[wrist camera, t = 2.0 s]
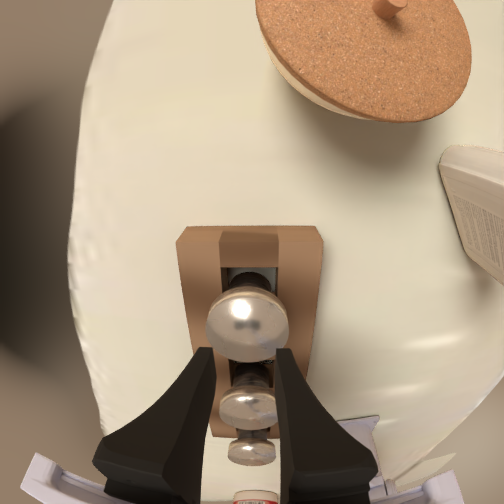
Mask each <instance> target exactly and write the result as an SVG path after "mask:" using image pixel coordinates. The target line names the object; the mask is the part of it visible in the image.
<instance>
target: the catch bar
mask: <svg viewBox="0 0 504 504" xmlns="http://www.w3.org/2000/svg"><path fill="white" fill-rule="evenodd" d="M176 249H177V257H178V265H179V272H180V279H181V286H182V292H183V298H184V305H185V311H186V317H187V322H188V328H189V333H190V339H191V344H192V349H193V354H195V352H196V351H197V349H198V348H199V347H212V346H211V345H210V343H209V341H208V339H207V337H206V332H205V327H206V322H207V318H208V314H209V310H210V307H211V305H212V303H213V302H214V300H215V299H216V298H217V297H218V296H219V295H221V294H222V293H224V292H225V291H227V290H228V278H227V267H276V275H275V292H271V293H272V294H274V295H275V296H276V297H277V298H278V299H279V300H280V301H281V302H282V303H283V305H284V307H285V309H286V312H287V319H288V327H289V336H288V340H287V342H286V344H285V346H284V347H283V348H290V349H291V350H292V353H293V356H294V358H295V361H296V363H297V365H298V367H299V369H300V371H301V373H302V375H303V377H304V379H305V380H306V376H307V370H308V364H309V358H310V351H311V345H312V338H313V331H314V324H315V316H316V308H317V300H318V292H319V283H320V273H321V263H322V253H323V240H322V238H321V236H320V234H319V233H318V231H317V229H316V227H315V226H194V227H186V229H185V230H184V231H183V233H182V234H181V236H180V237H179V238H178V240H177V241H176ZM213 353H214V360H215V367H216V374H217V380H216V390H215V397H214V401H213V406H212V410H211V414H210V419H209V424H210V428H211V432H212V435H213V437H224V438H238V431H239V429H238V428H235V427H232V426H230V425H228V424H226V423H225V422H224V421H223V420H222V419H221V418H220V416H219V409H220V402H221V397H222V395H223V394H224V393H225V392H226V391H228V390H229V389H232V388H233V383H234V373H235V369H236V367H237V366H238V365H239V364H235V363H234V361H233V360H231V359H229V358H226V357H224V356H223V355H221V354H219V353H218V352H217V351H216V350H215V349H214V348H213ZM275 357H276V355H274V356H272V357H270V358H268V359H266V360H273V362H272V364H263V365H265V366H266V367H267V368H268V370H269V389H270V390H272V391H273V392H275V383H274V376H275ZM278 438H280V433H279V425H278V422H277V423H276V424H274V425H272V426H270V427H268V428H267V439H278Z"/></svg>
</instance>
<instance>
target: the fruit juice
mask: <svg viewBox="0 0 504 504" xmlns="http://www.w3.org/2000/svg"><path fill="white" fill-rule="evenodd" d="M233 504H278V498H277V495H276V494H275V493H273V492H268V491H257V490H252V491H241V492H237V493H236V494H235V495H234V498H233Z"/></svg>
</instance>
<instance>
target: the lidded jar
mask: <svg viewBox="0 0 504 504" xmlns="http://www.w3.org/2000/svg"><path fill="white" fill-rule="evenodd" d="M255 4H256V15H257V18H258V22H259V25H260V31H261V35H262V38H263V42H264V45H265V47H266V49H267V51H268V54H269V56H270V58H271V60H272V62H273V63H274V65H275V66H276V68H277V69H278V71H279V72H280V74H281V75H282V76H283V77H284V78H285V79H286V80H287V81H288V83H289V84H290V85H292V86H293V87H294V88H295V89H296V90H297V91H298V92H300V93H301V94H302V95H304V96H305V97H307V98H308V99H310V100H311V101H313V102H314V103H316V104H318V105H320V106H322V107H324V108H326V109H328V110H331V111H333V112H336V113H339V114H342V115H346V116H350V117H354V118H359V119H366V120H375V121H383V122H392V123H404V122H418V121H423V120H427V119H431V118H433V117H435V116H437V115H440V114H442V113H443V112H445V111H446V110H447V109H449V108H450V107H451V106H453V105H454V103H455V102H456V101H457V100H458V99H459V98H460V96H461V94H462V93H463V91H464V89H465V87H466V85H467V82H468V78H469V75H470V71H471V60H472V58H471V44H470V40H469V35H468V31H467V29H466V26H465V23H464V20H463V18H462V16H461V14H460V12H459V10H458V8H457V6H456V5H455V3H454V1H453V0H255Z"/></svg>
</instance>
